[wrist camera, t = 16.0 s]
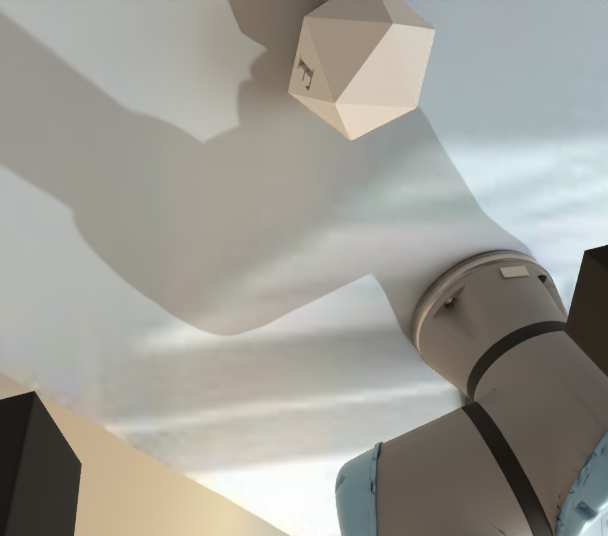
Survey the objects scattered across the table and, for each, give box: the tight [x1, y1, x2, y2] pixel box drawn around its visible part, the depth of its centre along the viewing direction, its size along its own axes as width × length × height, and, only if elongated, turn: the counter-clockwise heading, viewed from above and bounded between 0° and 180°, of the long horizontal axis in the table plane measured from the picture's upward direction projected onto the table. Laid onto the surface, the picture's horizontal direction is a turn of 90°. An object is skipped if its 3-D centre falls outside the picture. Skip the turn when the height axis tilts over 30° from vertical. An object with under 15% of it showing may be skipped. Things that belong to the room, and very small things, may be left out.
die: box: [288, 0, 436, 141], centre depth 34 cm, size 8×9×10 cm
